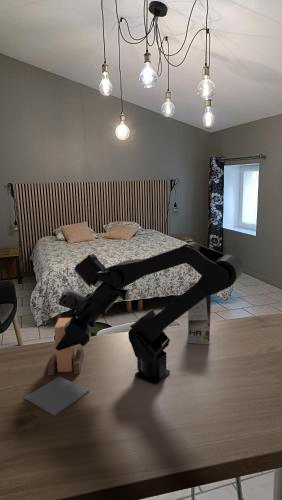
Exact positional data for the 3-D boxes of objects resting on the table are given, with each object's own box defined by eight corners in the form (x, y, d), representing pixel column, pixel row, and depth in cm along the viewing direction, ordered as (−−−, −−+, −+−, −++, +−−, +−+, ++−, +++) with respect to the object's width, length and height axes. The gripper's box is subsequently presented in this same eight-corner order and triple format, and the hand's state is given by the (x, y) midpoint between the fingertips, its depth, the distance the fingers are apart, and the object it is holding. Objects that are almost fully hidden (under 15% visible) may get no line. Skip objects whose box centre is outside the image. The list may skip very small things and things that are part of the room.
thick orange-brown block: (75, 359, 94) (72, 317, 91) (72, 371, 88) (69, 327, 85) (61, 359, 94) (58, 318, 91) (57, 371, 88) (54, 327, 85)
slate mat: (88, 391, 79) (88, 390, 79) (54, 416, 71) (54, 414, 71) (59, 377, 85) (59, 376, 85) (24, 398, 77) (24, 397, 77)
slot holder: (83, 356, 95) (83, 345, 95) (79, 374, 87) (78, 363, 86) (55, 357, 95) (54, 347, 94) (48, 375, 86) (47, 364, 86)
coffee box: (209, 345, 100) (211, 291, 97) (187, 343, 102) (187, 290, 98) (210, 331, 109) (211, 282, 106) (189, 330, 110) (189, 281, 107)
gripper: (81, 269, 95) (43, 308, 97) (71, 290, 77) (25, 338, 79) (111, 295, 97) (73, 333, 99) (108, 322, 79) (62, 368, 81)
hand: (59, 342), depth 89 cm, fingers open, 7 cm apart
